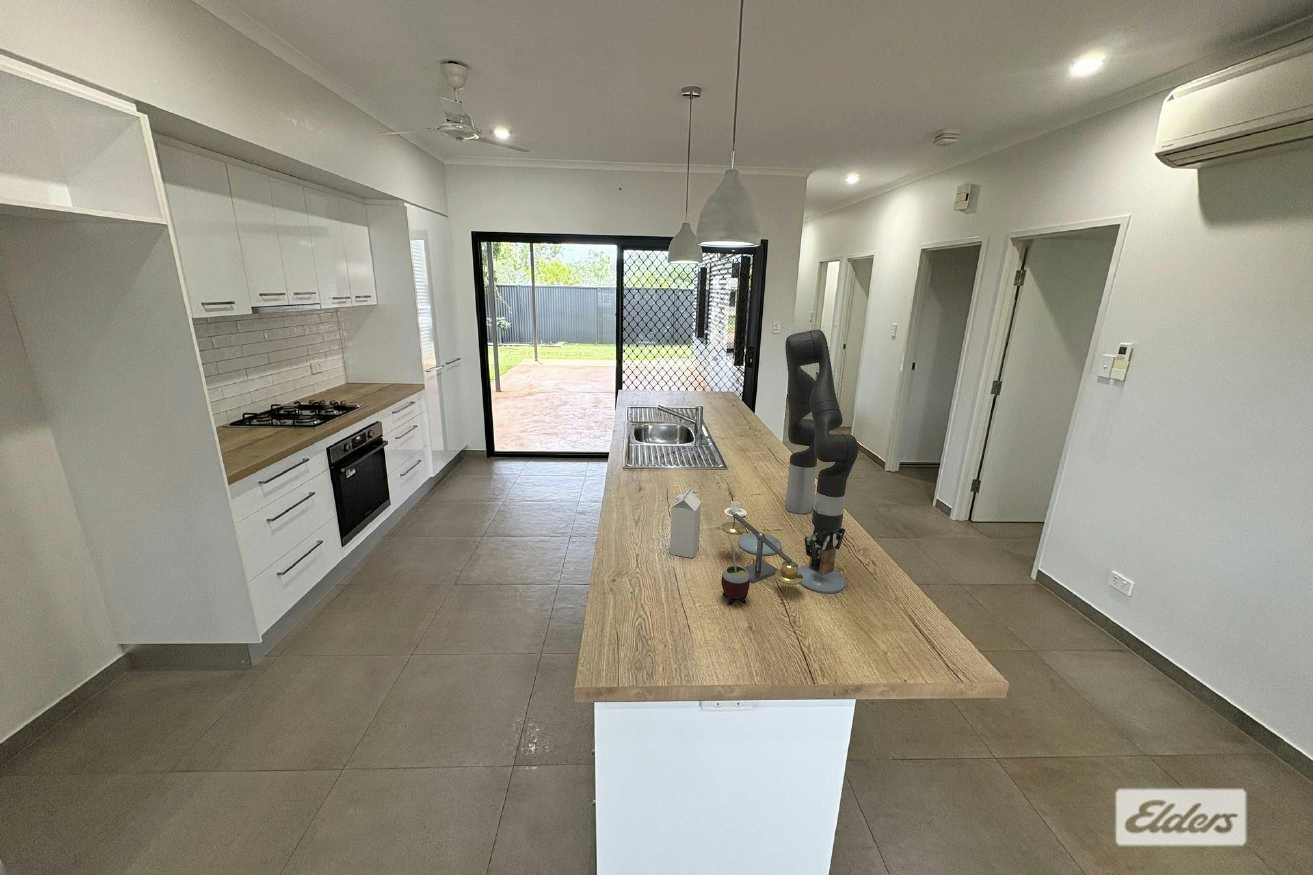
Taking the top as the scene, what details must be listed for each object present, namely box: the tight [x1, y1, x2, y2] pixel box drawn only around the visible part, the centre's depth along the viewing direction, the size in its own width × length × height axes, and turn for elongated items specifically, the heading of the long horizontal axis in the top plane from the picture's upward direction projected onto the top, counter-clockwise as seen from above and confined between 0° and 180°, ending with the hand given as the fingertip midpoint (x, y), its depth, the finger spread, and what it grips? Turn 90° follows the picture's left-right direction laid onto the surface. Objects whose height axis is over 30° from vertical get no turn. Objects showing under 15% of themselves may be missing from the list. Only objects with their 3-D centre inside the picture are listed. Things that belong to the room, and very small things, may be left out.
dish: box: [798, 564, 847, 595], centre depth 138 cm, size 13×13×1 cm
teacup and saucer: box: [723, 500, 748, 518], centre depth 180 cm, size 9×8×4 cm
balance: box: [720, 513, 803, 586], centre depth 139 cm, size 10×28×14 cm, turn 33°
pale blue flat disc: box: [737, 532, 782, 557], centre depth 157 cm, size 13×13×1 cm
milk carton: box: [669, 487, 702, 559], centre depth 150 cm, size 7×7×19 cm
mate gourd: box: [720, 534, 751, 606], centre depth 127 cm, size 8×8×15 cm
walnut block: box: [808, 544, 837, 576], centre depth 137 cm, size 4×4×7 cm
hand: (821, 566), depth 137 cm, fingers closed on walnut block, 4 cm apart
